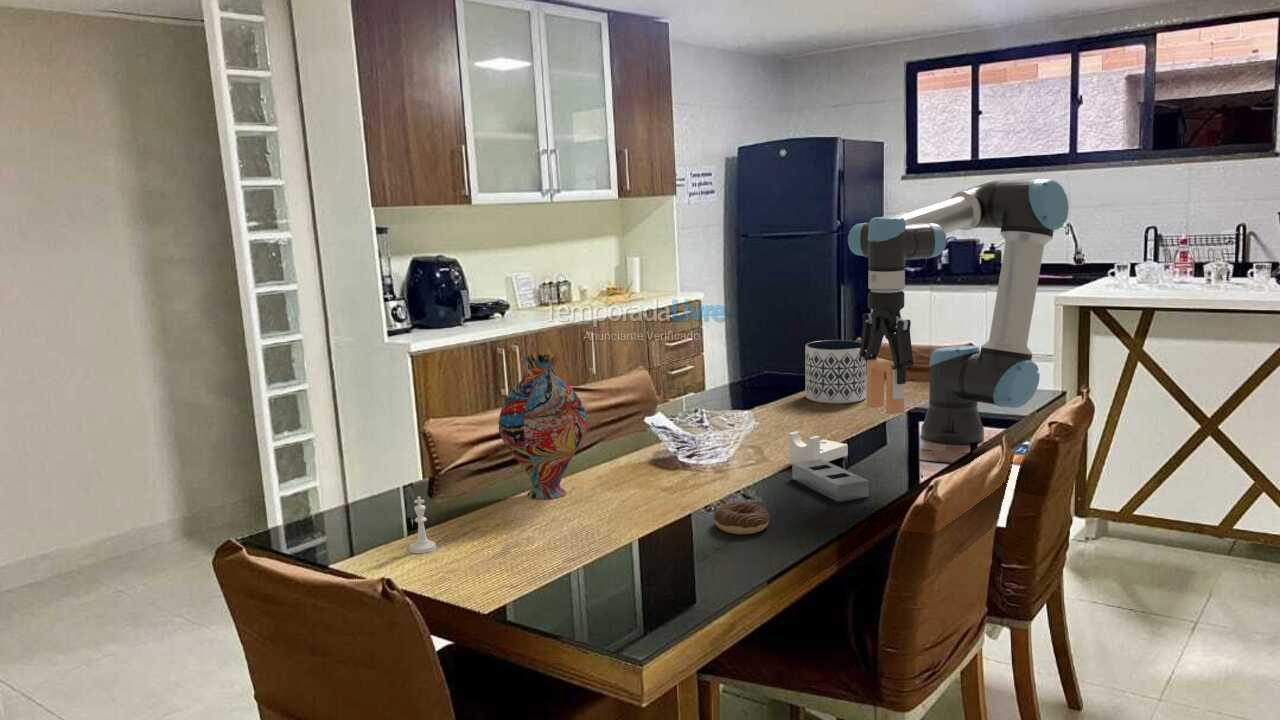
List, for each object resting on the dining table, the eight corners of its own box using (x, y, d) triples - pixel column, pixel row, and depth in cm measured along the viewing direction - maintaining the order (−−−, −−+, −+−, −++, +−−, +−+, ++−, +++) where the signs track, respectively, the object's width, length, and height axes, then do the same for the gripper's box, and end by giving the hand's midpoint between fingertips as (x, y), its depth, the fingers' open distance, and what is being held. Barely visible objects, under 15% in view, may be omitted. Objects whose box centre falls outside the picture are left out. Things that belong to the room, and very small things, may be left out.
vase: (603, 484, 213) (597, 351, 208) (569, 511, 195) (562, 367, 190) (526, 478, 219) (519, 349, 214) (487, 504, 201) (478, 364, 196)
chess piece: (411, 544, 180) (407, 493, 178) (437, 543, 180) (434, 492, 178) (407, 554, 175) (403, 501, 173) (434, 552, 175) (430, 500, 173)
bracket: (812, 470, 219) (812, 438, 217) (788, 464, 224) (788, 433, 223) (847, 459, 227) (847, 428, 226) (823, 453, 232) (823, 423, 231)
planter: (872, 403, 282) (872, 348, 279) (810, 405, 282) (810, 350, 279) (859, 390, 300) (859, 339, 297) (801, 392, 300) (801, 340, 297)
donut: (712, 519, 189) (711, 499, 188) (765, 517, 188) (765, 497, 188) (715, 538, 178) (715, 518, 177) (772, 536, 178) (772, 516, 177)
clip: (880, 404, 212) (880, 358, 210) (903, 412, 204) (904, 364, 203) (866, 406, 211) (867, 359, 209) (890, 414, 203) (890, 366, 201)
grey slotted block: (821, 474, 215) (821, 459, 214) (868, 496, 198) (868, 480, 198) (792, 478, 212) (792, 463, 212) (837, 502, 196) (837, 485, 195)
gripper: (842, 287, 211) (842, 387, 215) (902, 296, 192) (901, 406, 196) (871, 285, 214) (870, 383, 218) (933, 293, 195) (931, 401, 199)
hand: (885, 394), depth 207 cm, fingers closed on clip, 8 cm apart
